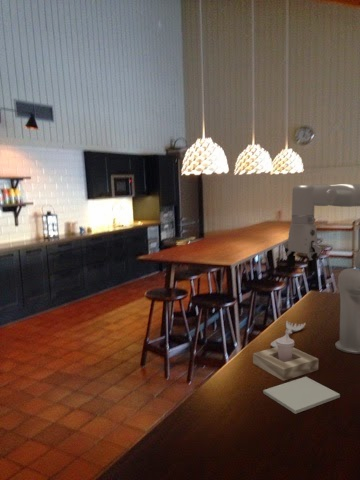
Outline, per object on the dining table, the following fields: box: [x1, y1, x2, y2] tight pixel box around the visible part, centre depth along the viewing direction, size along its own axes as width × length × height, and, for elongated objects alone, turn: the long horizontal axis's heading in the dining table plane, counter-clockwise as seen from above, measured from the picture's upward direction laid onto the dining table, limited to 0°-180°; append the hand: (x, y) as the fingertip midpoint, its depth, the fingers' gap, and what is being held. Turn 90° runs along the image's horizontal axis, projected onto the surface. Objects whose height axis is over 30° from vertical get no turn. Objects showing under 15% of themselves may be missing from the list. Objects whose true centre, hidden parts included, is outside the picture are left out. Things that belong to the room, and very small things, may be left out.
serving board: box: [262, 376, 341, 415], centre depth 128 cm, size 18×14×1 cm
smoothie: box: [275, 328, 295, 362], centre depth 148 cm, size 6×6×14 cm
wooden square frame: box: [252, 347, 319, 381], centre depth 148 cm, size 16×16×4 cm
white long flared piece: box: [270, 320, 307, 348], centre depth 175 cm, size 9×32×4 cm, turn 153°
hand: (300, 268), depth 146 cm, fingers open, 9 cm apart
